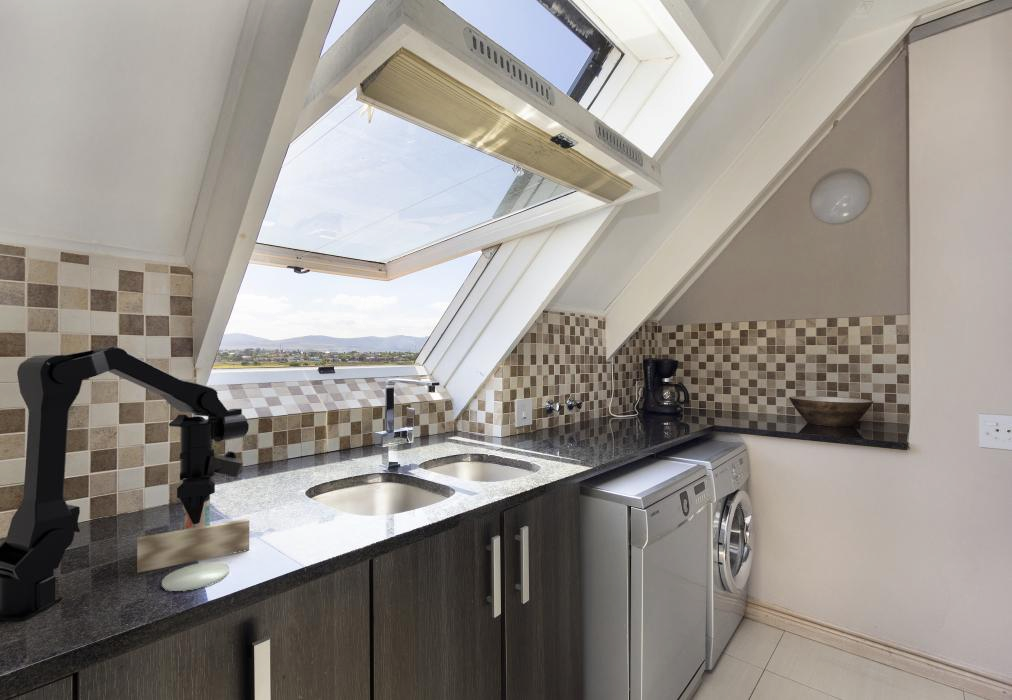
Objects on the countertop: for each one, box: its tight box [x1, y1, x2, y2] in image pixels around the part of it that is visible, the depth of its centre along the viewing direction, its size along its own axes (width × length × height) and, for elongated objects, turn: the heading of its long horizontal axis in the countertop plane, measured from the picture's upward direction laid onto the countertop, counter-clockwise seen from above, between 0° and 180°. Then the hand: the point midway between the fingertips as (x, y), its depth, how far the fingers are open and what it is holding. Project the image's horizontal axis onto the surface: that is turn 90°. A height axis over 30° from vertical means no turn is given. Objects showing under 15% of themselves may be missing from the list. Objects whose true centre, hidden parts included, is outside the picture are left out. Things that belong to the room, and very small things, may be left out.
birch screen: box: [136, 518, 250, 574], centre depth 91 cm, size 18×2×6 cm, turn 123°
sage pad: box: [161, 561, 230, 592], centre depth 84 cm, size 10×10×1 cm
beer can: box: [182, 494, 211, 530], centre depth 99 cm, size 5×5×12 cm
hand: (196, 520), depth 99 cm, fingers closed on beer can, 5 cm apart
